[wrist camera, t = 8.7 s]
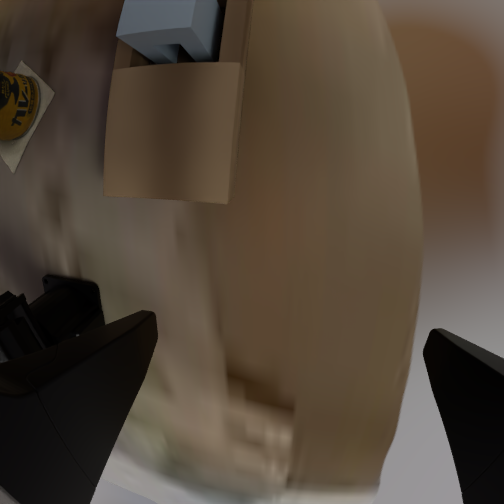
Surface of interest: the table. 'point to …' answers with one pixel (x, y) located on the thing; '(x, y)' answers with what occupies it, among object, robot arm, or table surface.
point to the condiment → (20, 110)
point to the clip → (172, 28)
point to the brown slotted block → (178, 120)
